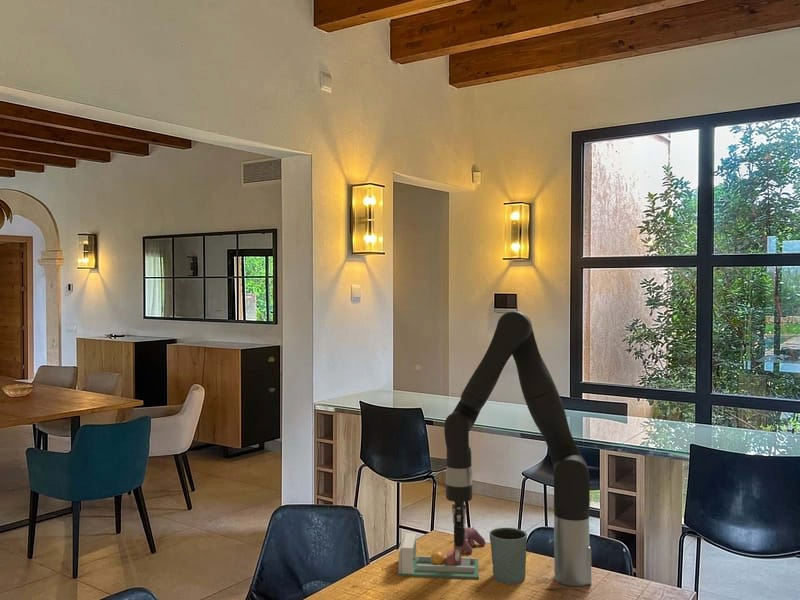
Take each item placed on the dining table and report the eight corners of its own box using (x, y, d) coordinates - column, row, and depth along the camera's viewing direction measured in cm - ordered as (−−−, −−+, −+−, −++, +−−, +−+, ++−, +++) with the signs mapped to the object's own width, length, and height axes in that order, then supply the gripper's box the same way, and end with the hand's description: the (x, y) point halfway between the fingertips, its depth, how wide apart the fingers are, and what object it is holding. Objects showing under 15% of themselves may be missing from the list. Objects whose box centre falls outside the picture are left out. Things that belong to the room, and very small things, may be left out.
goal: (416, 557, 192) (416, 533, 192) (412, 573, 180) (412, 548, 180) (403, 556, 193) (403, 532, 193) (398, 573, 180) (398, 547, 180)
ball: (444, 563, 187) (444, 549, 187) (444, 569, 183) (444, 554, 183) (430, 563, 188) (430, 549, 188) (430, 568, 184) (429, 554, 184)
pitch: (478, 561, 191) (478, 554, 191) (478, 579, 178) (478, 571, 178) (402, 558, 193) (402, 551, 193) (398, 575, 180) (398, 568, 180)
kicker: (470, 557, 191) (469, 518, 192) (470, 576, 178) (470, 534, 178) (447, 556, 192) (447, 518, 192) (446, 575, 178) (446, 534, 178)
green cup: (527, 586, 173) (526, 540, 173) (488, 583, 175) (488, 538, 175) (527, 571, 183) (527, 528, 183) (490, 569, 185) (490, 526, 185)
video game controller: (476, 548, 206) (467, 526, 208) (487, 544, 204) (478, 522, 205) (460, 557, 198) (451, 534, 200) (471, 553, 196) (462, 530, 197)
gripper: (472, 489, 178) (472, 553, 178) (472, 476, 192) (472, 535, 192) (444, 488, 179) (445, 552, 178) (446, 475, 193) (446, 535, 192)
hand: (459, 543), depth 185 cm, fingers closed on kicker, 3 cm apart
